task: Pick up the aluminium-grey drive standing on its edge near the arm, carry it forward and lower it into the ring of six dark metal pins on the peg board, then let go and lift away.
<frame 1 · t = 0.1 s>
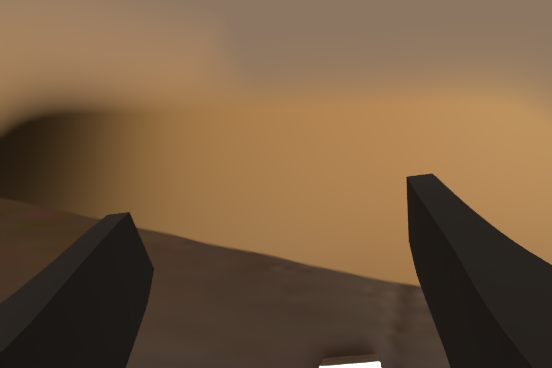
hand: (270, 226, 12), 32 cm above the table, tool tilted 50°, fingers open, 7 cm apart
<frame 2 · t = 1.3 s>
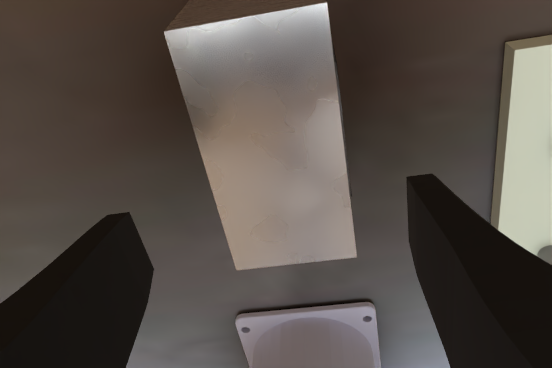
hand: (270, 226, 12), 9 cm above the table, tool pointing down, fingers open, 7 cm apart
drive: (279, 88, 20), on the table
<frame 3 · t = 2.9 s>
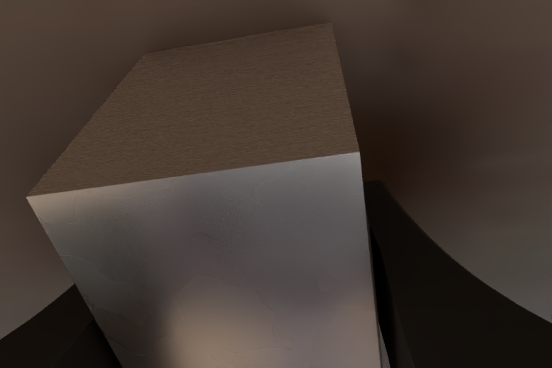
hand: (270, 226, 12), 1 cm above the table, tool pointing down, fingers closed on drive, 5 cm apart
drive: (270, 194, 14), on the table, touching gripper
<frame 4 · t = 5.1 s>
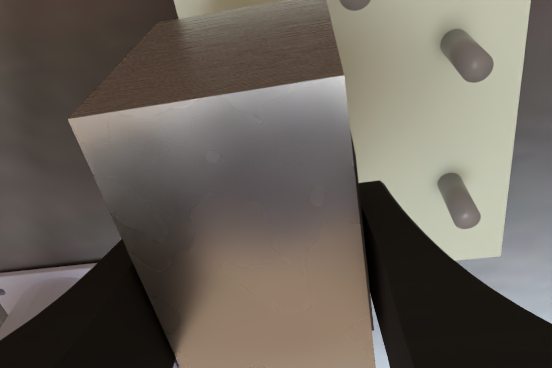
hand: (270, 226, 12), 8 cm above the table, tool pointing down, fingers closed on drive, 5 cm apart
drive: (270, 155, 15), point 5 cm above the table, touching gripper
peg board: (357, 120, 20), on the table
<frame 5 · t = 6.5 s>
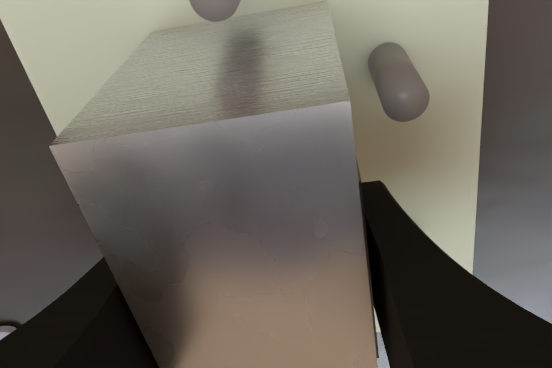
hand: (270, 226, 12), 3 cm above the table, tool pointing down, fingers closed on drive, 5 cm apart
drive: (270, 168, 14), point 1 cm above the table, touching gripper, peg board
peg board: (274, 159, 15), on the table
when the fingers open (3 cm above the table, at t = 7.3 s): drive stays where it is, resting on peg board.
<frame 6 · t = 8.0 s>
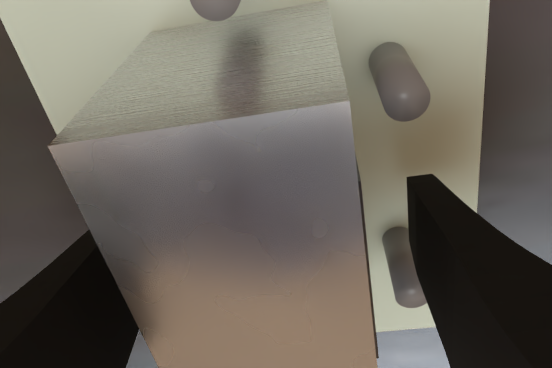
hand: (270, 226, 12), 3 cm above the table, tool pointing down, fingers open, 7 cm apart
drive: (270, 168, 14), point 1 cm above the table, touching peg board
peg board: (275, 159, 15), on the table
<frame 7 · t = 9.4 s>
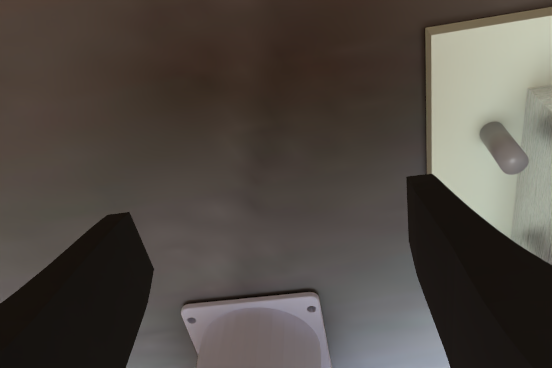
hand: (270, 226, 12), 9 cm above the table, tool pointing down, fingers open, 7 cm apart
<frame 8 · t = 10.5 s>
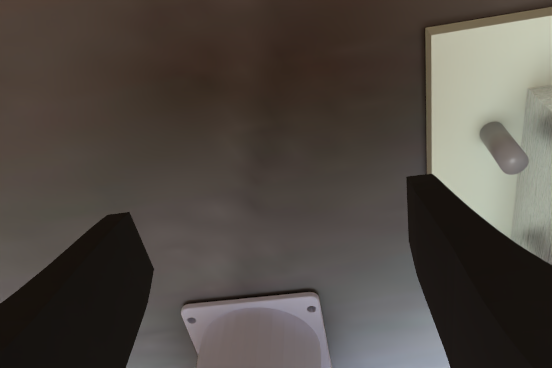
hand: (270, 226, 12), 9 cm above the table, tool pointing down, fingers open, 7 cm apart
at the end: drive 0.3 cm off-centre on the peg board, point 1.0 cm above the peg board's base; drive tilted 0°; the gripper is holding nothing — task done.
